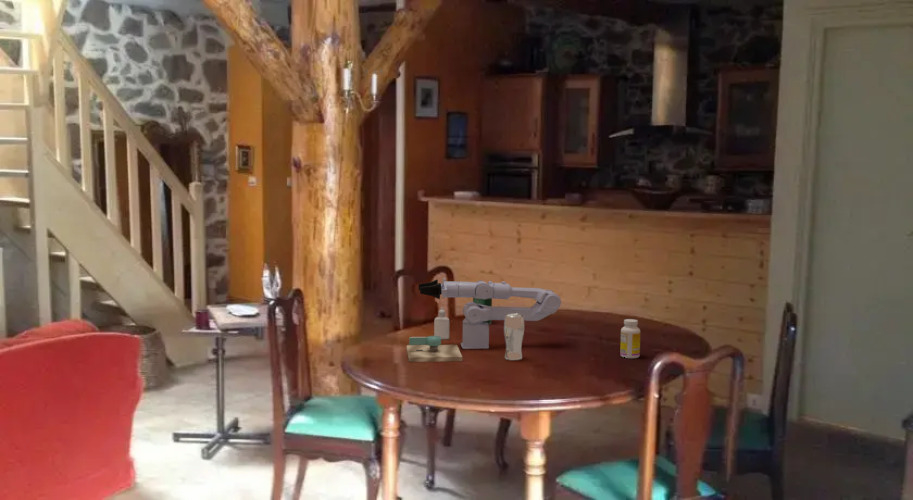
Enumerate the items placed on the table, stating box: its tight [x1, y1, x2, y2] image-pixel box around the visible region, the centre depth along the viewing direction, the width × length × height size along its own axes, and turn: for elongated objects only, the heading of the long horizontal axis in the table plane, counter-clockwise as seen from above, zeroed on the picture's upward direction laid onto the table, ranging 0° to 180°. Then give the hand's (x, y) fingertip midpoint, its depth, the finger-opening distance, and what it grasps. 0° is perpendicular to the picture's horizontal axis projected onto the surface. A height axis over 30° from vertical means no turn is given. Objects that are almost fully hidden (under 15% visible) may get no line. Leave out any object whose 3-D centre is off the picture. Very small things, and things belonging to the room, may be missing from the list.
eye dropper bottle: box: [433, 306, 450, 341], centre depth 328 cm, size 4×6×12 cm
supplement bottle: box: [619, 318, 641, 359], centre depth 303 cm, size 7×7×13 cm
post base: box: [406, 344, 463, 363], centre depth 303 cm, size 18×18×4 cm
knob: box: [408, 335, 442, 346], centre depth 302 cm, size 11×5×3 cm, turn 96°
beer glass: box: [503, 314, 525, 361], centre depth 299 cm, size 7×7×15 cm
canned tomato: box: [472, 295, 493, 326], centre depth 358 cm, size 8×8×11 cm
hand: (419, 288), depth 312 cm, fingers open, 7 cm apart
